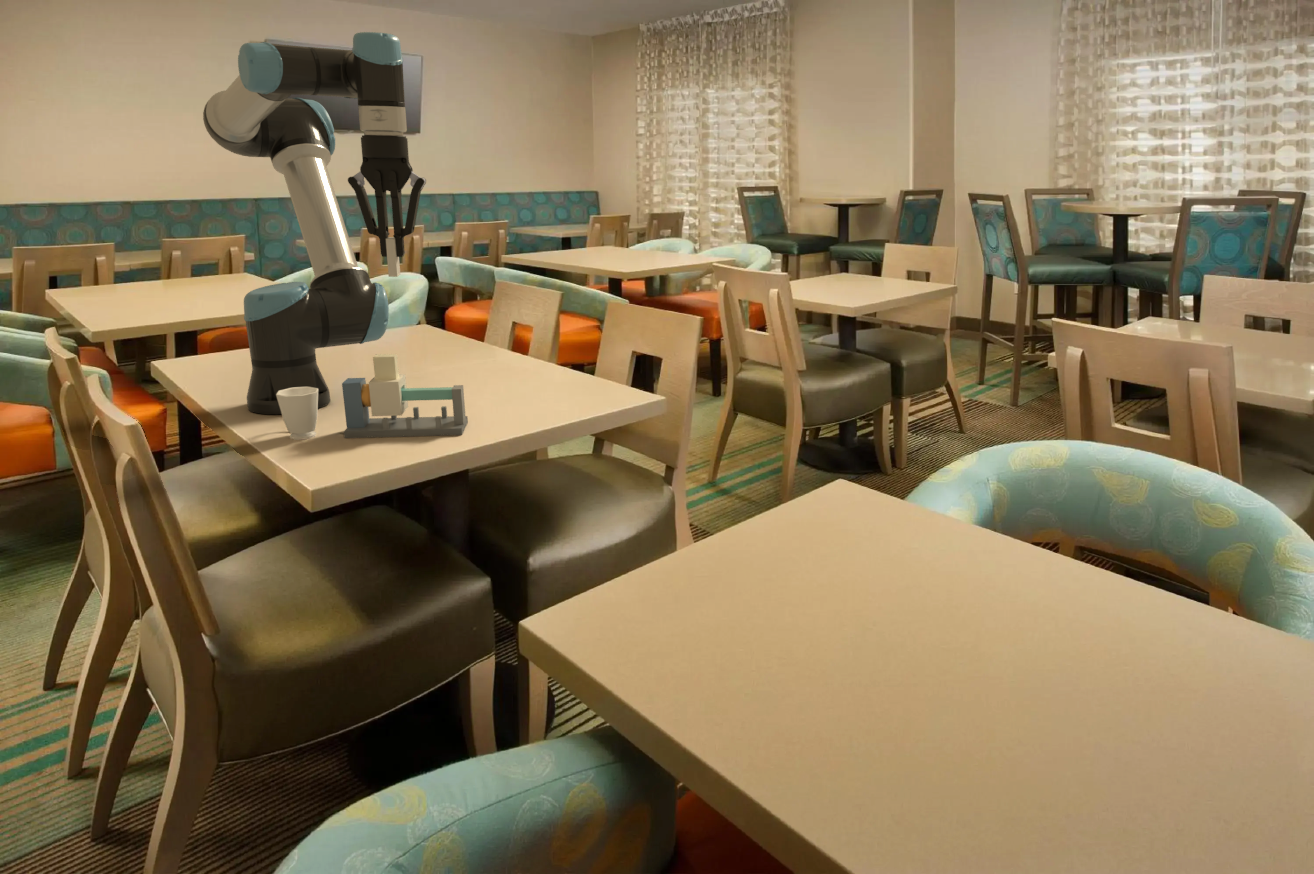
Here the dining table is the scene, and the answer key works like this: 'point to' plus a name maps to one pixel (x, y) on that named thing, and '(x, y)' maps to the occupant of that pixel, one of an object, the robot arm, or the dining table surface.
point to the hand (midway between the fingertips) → (394, 275)
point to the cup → (299, 411)
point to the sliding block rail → (364, 426)
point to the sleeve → (387, 387)
